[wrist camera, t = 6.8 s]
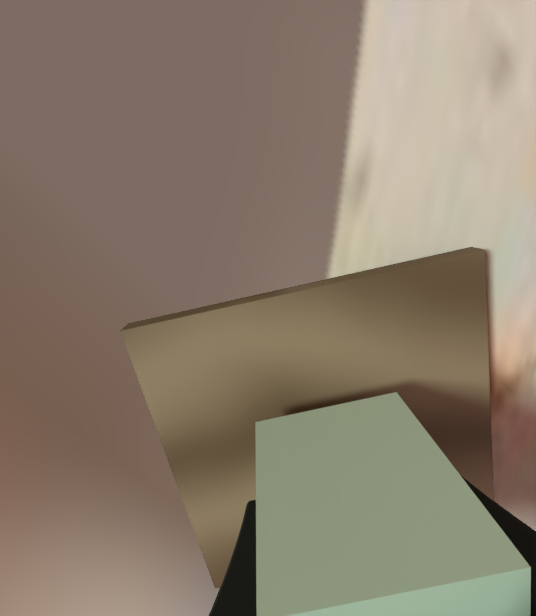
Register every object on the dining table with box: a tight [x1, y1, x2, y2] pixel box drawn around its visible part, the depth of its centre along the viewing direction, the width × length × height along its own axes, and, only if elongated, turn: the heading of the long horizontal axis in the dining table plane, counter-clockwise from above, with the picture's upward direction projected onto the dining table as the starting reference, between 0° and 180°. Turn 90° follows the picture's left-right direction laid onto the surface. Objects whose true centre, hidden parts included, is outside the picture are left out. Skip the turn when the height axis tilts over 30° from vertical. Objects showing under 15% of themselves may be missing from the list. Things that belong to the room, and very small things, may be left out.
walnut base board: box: [121, 247, 494, 588], centre depth 14 cm, size 13×13×1 cm
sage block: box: [255, 392, 531, 616], centre depth 10 cm, size 5×5×6 cm
